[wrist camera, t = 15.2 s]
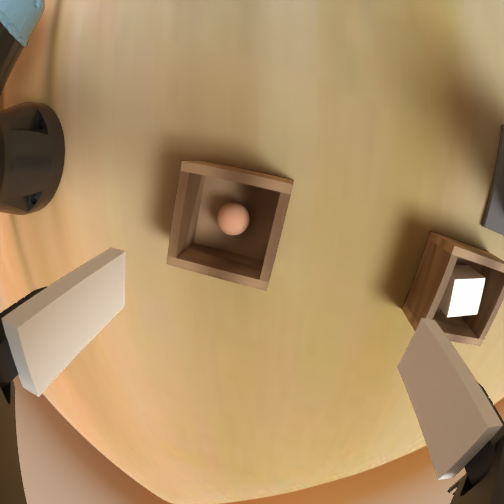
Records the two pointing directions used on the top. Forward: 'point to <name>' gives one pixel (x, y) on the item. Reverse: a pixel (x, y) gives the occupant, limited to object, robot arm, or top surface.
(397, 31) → the top surface
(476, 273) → the cube
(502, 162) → the coaster
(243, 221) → the ball
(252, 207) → the crate
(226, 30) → the top surface
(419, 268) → the crate
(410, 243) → the top surface
